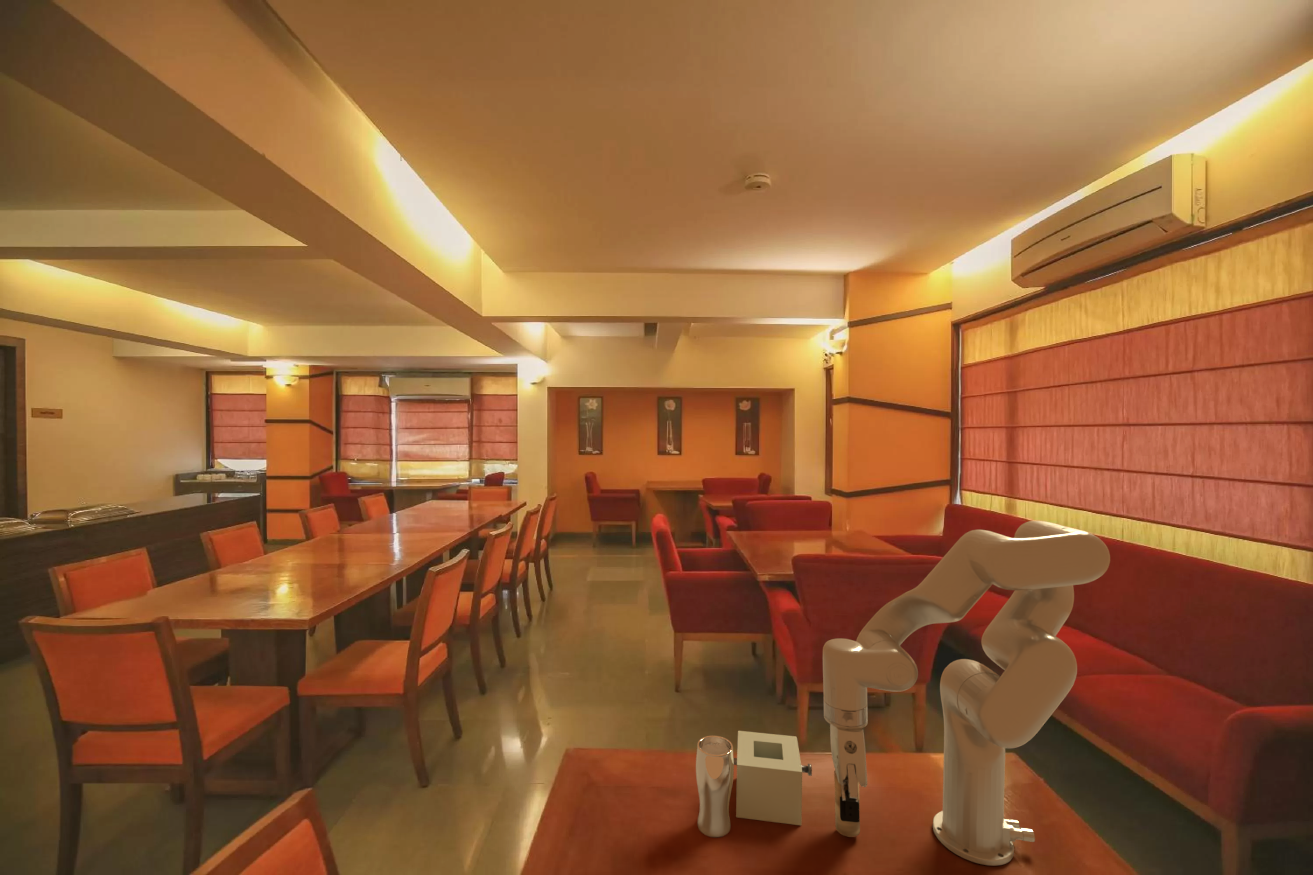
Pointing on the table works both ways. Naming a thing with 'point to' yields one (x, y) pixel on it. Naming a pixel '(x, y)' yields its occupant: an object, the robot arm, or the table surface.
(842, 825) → the peg
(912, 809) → the table surface
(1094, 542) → the robot arm
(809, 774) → the plunger
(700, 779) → the beer glass
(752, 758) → the socket
